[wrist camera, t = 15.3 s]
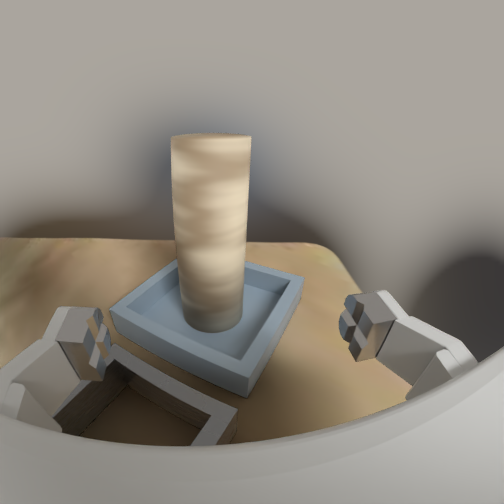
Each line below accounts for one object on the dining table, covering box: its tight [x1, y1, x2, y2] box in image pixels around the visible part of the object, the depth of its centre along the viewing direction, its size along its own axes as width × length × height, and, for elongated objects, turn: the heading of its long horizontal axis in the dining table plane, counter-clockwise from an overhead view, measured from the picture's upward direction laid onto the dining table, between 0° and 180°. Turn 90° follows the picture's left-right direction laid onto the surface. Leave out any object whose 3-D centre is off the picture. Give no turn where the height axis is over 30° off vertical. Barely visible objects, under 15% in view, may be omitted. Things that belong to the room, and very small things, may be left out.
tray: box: [109, 258, 305, 398], centre depth 22 cm, size 12×12×2 cm
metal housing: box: [52, 343, 238, 446], centre depth 11 cm, size 9×9×3 cm
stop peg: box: [171, 133, 251, 333], centre depth 19 cm, size 5×5×14 cm
